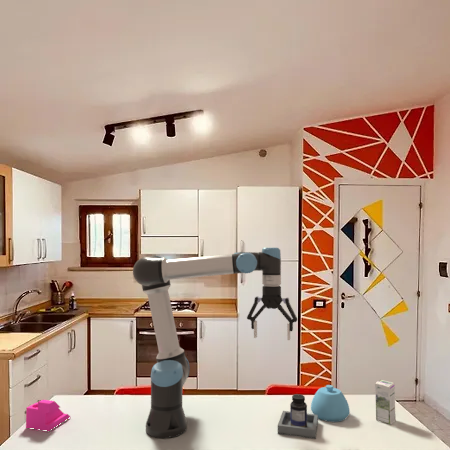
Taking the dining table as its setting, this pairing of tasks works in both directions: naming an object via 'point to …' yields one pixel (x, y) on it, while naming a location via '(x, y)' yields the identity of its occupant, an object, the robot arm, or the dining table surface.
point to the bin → (306, 432)
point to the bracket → (44, 415)
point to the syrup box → (385, 401)
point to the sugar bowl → (330, 404)
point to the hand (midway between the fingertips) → (272, 338)
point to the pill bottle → (298, 411)
